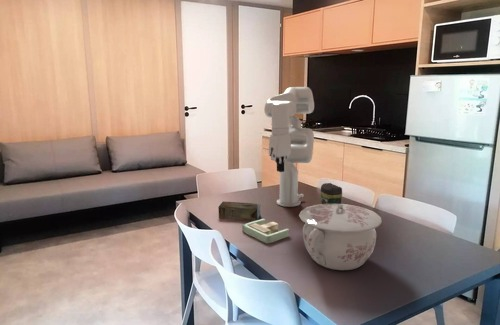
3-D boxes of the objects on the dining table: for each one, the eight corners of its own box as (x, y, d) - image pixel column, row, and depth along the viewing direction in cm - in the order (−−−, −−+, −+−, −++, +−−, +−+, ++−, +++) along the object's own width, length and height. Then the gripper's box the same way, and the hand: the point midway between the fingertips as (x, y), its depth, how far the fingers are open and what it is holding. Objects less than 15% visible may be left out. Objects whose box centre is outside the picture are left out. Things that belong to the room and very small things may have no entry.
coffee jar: (344, 227, 158) (345, 186, 154) (328, 230, 155) (329, 188, 151) (332, 220, 167) (333, 181, 163) (316, 222, 164) (317, 182, 160)
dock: (263, 225, 162) (263, 218, 161) (288, 236, 149) (289, 229, 148) (242, 231, 155) (242, 224, 154) (267, 243, 142) (267, 236, 141)
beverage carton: (258, 221, 167) (257, 207, 166) (217, 218, 171) (217, 205, 170) (260, 215, 175) (260, 202, 174) (222, 213, 179) (221, 200, 177)
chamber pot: (357, 242, 143) (360, 191, 138) (394, 277, 116) (399, 215, 112) (288, 247, 139) (288, 195, 135) (310, 284, 112) (311, 221, 108)
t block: (267, 227, 159) (267, 219, 159) (283, 233, 152) (283, 226, 151) (249, 232, 153) (248, 225, 152) (264, 240, 145) (264, 232, 145)
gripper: (286, 128, 167) (286, 166, 171) (262, 132, 158) (262, 172, 162) (298, 130, 161) (297, 169, 166) (274, 134, 152) (274, 176, 157)
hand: (280, 171), depth 164 cm, fingers closed
